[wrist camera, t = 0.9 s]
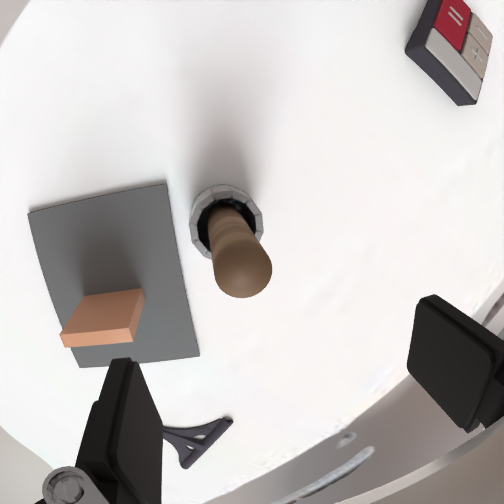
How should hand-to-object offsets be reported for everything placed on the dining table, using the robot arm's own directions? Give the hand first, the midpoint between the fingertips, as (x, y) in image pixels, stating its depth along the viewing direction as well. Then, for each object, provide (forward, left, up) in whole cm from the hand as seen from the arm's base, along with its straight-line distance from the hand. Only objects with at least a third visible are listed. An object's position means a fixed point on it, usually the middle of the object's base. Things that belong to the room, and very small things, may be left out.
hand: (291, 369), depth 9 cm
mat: (+6, -13, -24) cm, 28 cm away
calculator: (-21, +32, -24) cm, 45 cm away
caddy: (0, 0, -24) cm, 24 cm away
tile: (+7, -13, -23) cm, 28 cm away
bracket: (+30, -13, -25) cm, 41 cm away
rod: (0, 0, -23) cm, 23 cm away
